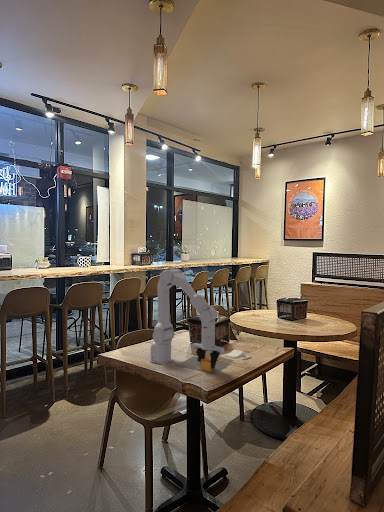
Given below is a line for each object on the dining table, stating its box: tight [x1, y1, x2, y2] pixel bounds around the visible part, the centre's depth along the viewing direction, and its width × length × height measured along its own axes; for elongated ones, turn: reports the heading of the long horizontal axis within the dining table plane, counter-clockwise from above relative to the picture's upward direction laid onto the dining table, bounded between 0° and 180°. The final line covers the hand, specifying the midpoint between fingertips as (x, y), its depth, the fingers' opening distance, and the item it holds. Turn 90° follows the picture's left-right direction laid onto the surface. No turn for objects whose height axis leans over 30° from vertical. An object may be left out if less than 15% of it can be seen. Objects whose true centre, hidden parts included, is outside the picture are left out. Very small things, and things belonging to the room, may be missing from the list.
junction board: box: [175, 355, 231, 375], centre depth 156 cm, size 20×16×1 cm
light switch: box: [219, 349, 252, 362], centre depth 170 cm, size 11×4×13 cm
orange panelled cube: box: [201, 356, 215, 372], centre depth 150 cm, size 5×5×4 cm
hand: (207, 367), depth 150 cm, fingers closed on orange panelled cube, 5 cm apart
